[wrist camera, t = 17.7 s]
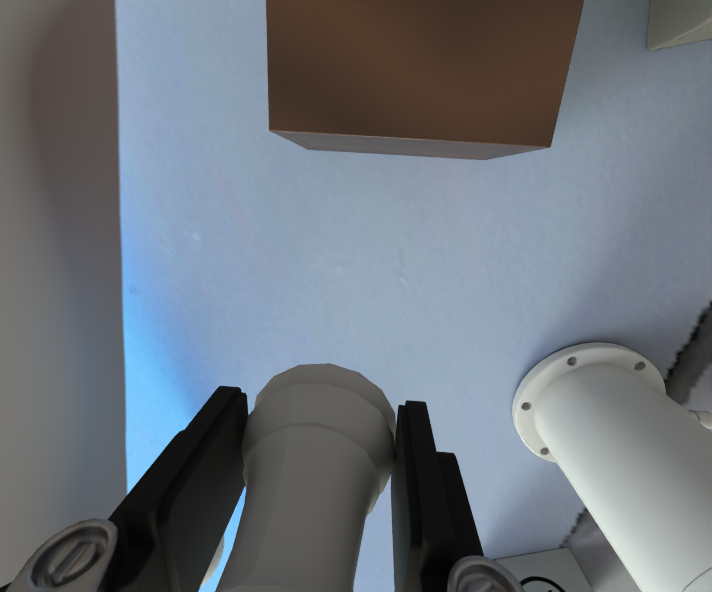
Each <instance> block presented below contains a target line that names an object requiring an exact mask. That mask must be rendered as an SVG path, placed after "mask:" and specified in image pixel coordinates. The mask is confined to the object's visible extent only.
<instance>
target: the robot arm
mask: <svg viewBox="0 0 712 592" xmlns="http://www.w3.org/2000/svg"><path fill="white" fill-rule="evenodd" d="M512 415H513V422H514V425H515V427H516V430H517V432H518V434H519V435H520V437H521V439H522V440H523V442H524V443H525V445H526V446H527V447H528V448H529V449H530V450H531V451H532V452H534V453H535V454H536V455H538V456H539V457H541V458H543V459H546V460H548V461H550V462H553V463H557V464H559V466H560V468H561V469H562V471H563V472H564V474H565V475H566V477H567V478H568V480H569V481H570V483H571V484H572V486H573V487H574V489H575V491H576V492H577V494H578V495H579V497H580V498H581V500H582V501H583V503H584V504H585V506H586V507H587V509H588V510H589V512H590V513H591V515H592V517H593V518H594V520H595V521H596V523H597V524H598V526H599V527H600V529H601V530H602V532H603V533H604V535H605V536H606V538H607V540H608V541H609V543H610V544H611V546H612V547H613V549H614V550H615V552H616V553H617V555H618V556H619V558H620V559H621V561H622V562H623V564H624V566H625V567H626V569H627V570H628V572H629V573H630V575H631V576H632V578H633V579H634V581H635V582H636V584H637V585H638V587H639V589H640V590H641V591H642V592H712V432H711V431H710V430H709V429H712V414H711V413H709V412H707V411H695V410H688V411H687V410H686V409H684V408H683V407H682V406H680V405H679V404H678V403H676V402H675V401H673V400H672V399H671V398H669V397H668V396H667V395H666V388H665V384H664V381H663V378H662V376H661V375H660V373H659V371H658V369H657V368H656V367H655V366H654V365H653V364H652V363H651V362H650V361H649V360H647V359H646V358H644V357H643V356H641V355H640V354H638V353H637V352H635V351H633V350H631V349H629V348H627V347H624V346H620V345H616V344H612V343H601V342H595V343H584V344H579V345H575V346H571V347H567V348H565V349H563V350H560V351H558V352H555V353H553V354H552V355H550V356H548V357H547V358H545V359H544V360H542V361H541V362H539V363H538V364H537V365H536V366H535V367H534V368H532V369H531V370H530V372H529V373H528V374H527V375H526V376H525V378H524V379H523V380H522V382H521V383H520V385H519V387H518V389H517V391H516V394H515V397H514V400H513V408H512ZM247 419H248V405H247V395H246V393H242V392H241V389H240V388H239V387H229V386H219V387H218V388H217V389H216V391H215V392H214V393H213V394H212V396H211V397H210V398H209V399H208V401H207V402H206V403H205V405H204V406H203V407H202V408H201V410H200V411H199V412H198V413H197V415H196V416H195V417H194V418H193V420H192V421H191V422H190V423H189V425H188V426H187V427H186V429H185V430H182V431H180V432H179V433H178V434H177V435H176V436H175V437H174V438H173V439H172V440H171V442H170V443H169V444H168V445H167V447H166V448H165V449H164V450H163V452H162V453H161V454H160V455H159V457H158V458H157V459H156V460H155V461H154V463H153V464H152V465H151V466H150V468H149V469H148V470H147V471H146V473H145V474H144V475H143V476H142V478H141V479H140V480H139V481H138V483H137V484H136V485H135V486H134V487H133V489H132V490H131V491H130V492H129V494H128V495H127V496H126V497H125V499H124V500H123V501H122V502H121V504H120V505H119V506H118V507H117V508H116V510H115V511H114V512H113V513H112V515H111V516H110V517H109V518H108V520H106V519H96V518H93V519H89V520H85V521H80V522H78V523H75V524H73V525H71V526H69V527H66V528H65V529H63V530H61V531H60V532H58V533H57V534H55V535H53V536H52V537H51V538H49V539H48V540H47V541H46V542H45V543H43V544H42V545H41V546H40V547H39V548H38V549H37V550H36V551H35V552H34V553H33V555H32V556H31V557H30V558H29V559H28V561H27V562H26V563H25V565H24V566H23V568H22V569H21V570H20V572H19V573H18V575H17V576H16V577H15V579H14V580H13V582H11V583H9V584H7V585H5V586H3V587H1V588H0V592H198V591H199V589H200V586H201V584H202V582H203V579H204V577H205V575H206V573H207V570H208V568H209V566H210V564H211V561H212V559H213V557H214V555H215V552H216V550H217V548H218V546H219V543H220V541H221V539H222V537H223V534H224V532H225V530H226V528H227V525H228V523H229V521H230V519H231V516H232V514H233V512H234V510H235V507H236V505H237V503H238V500H239V498H240V496H241V494H242V491H243V489H244V487H245V482H244V478H243V470H244V466H245V465H244V461H243V457H242V453H241V446H242V440H243V435H244V431H245V427H246V423H247ZM391 507H392V533H393V558H394V584H395V592H525V591H524V589H523V587H522V585H521V584H520V583H519V581H518V580H517V579H516V578H515V577H514V576H513V574H512V573H511V572H510V571H508V570H507V569H506V568H505V567H503V566H502V565H501V564H499V563H498V562H496V561H493V560H491V559H489V558H487V557H484V554H483V550H482V547H481V543H480V540H479V536H478V533H477V529H476V526H475V522H474V519H473V515H472V512H471V508H470V504H469V501H468V497H467V494H466V490H465V487H464V483H463V480H462V476H461V473H460V469H459V466H458V462H457V459H456V456H455V455H454V453H447V452H436V447H435V443H434V438H433V433H432V429H431V424H430V419H429V415H428V410H427V405H426V402H421V401H408V400H406V403H405V405H399V407H398V415H397V425H396V435H395V464H394V467H393V470H392V473H391Z"/></svg>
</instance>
